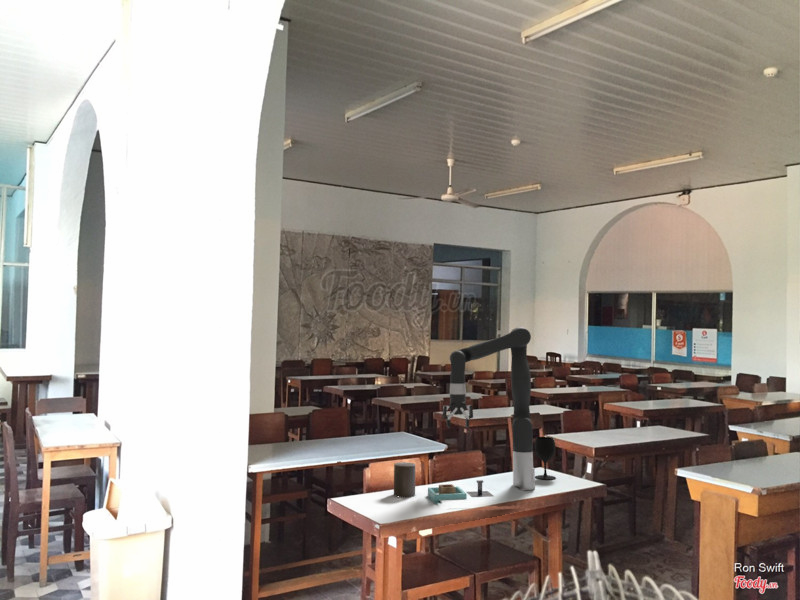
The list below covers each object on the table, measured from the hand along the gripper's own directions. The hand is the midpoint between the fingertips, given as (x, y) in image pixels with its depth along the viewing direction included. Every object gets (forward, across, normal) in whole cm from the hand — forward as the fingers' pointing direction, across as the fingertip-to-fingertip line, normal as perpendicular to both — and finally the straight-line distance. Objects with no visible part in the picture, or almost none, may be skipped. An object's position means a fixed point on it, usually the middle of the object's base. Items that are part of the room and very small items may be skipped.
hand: (457, 427), depth 301 cm
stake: (+28, -5, +19) cm, 34 cm away
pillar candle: (+28, +27, +9) cm, 40 cm away
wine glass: (+28, -49, -15) cm, 59 cm away
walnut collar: (+27, +10, +19) cm, 35 cm away
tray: (+28, +10, +19) cm, 35 cm away
